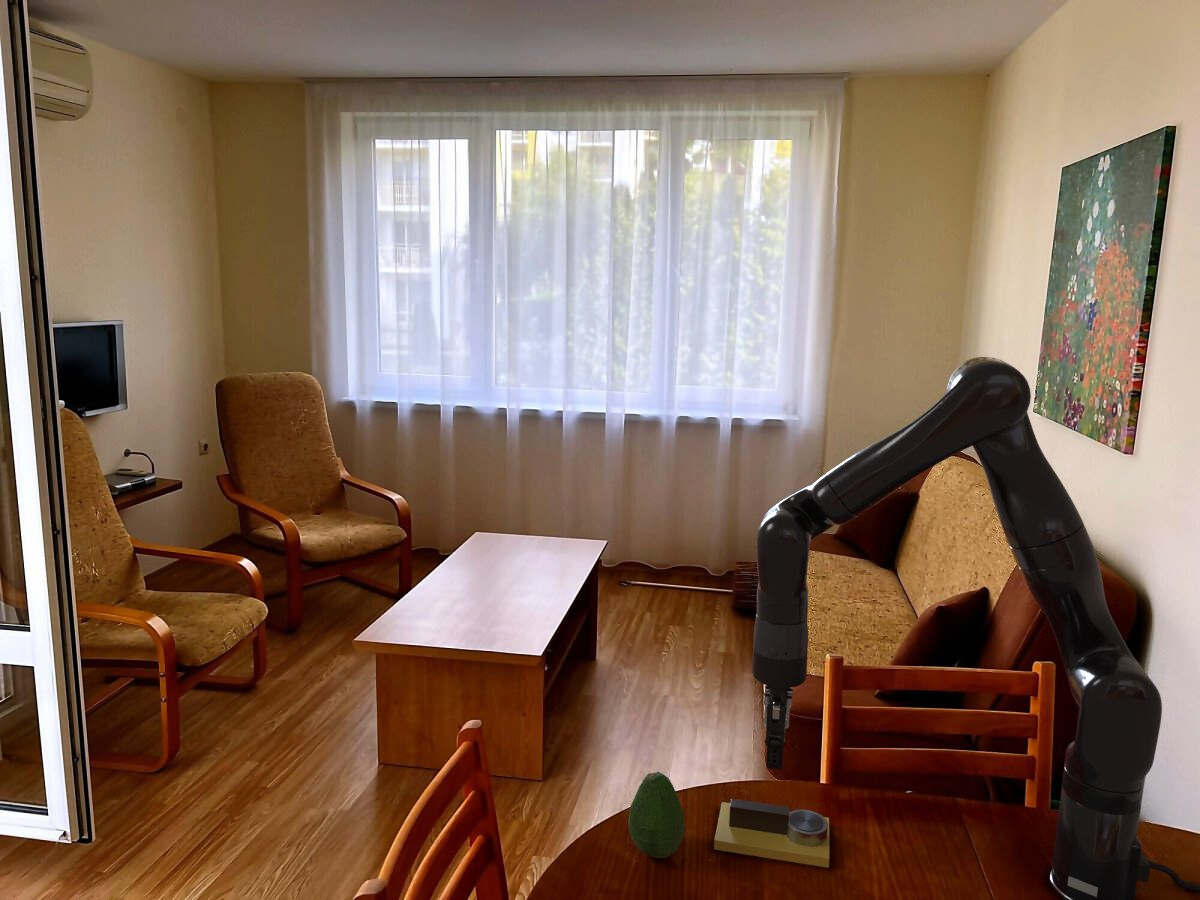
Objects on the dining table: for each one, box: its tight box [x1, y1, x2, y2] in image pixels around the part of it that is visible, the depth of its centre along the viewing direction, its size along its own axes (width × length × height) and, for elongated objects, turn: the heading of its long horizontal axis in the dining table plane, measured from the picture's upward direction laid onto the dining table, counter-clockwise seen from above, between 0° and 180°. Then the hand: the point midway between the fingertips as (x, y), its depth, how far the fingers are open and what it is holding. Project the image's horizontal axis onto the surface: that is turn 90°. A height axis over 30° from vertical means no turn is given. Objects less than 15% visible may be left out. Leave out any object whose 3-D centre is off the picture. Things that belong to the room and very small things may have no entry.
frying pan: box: [729, 798, 828, 846], centre depth 132 cm, size 14×6×3 cm, turn 76°
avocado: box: [627, 771, 686, 859], centre depth 128 cm, size 8×8×12 cm
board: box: [713, 801, 830, 869], centre depth 133 cm, size 16×10×2 cm, turn 76°
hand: (776, 752), depth 131 cm, fingers open, 8 cm apart
